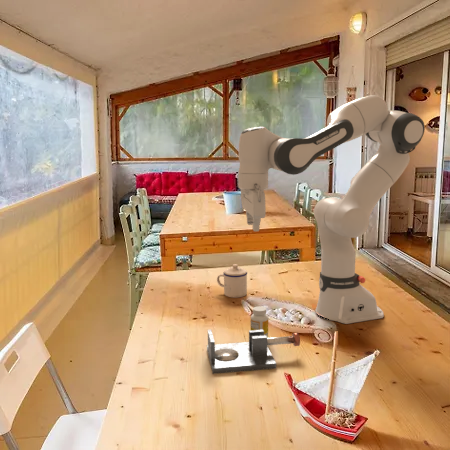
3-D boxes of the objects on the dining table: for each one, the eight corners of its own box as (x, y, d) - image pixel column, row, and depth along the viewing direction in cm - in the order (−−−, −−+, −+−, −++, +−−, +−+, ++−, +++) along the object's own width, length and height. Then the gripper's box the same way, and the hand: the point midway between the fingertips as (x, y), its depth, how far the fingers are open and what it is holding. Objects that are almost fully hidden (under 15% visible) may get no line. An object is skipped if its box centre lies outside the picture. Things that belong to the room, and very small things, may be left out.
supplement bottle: (251, 342, 147) (251, 312, 145) (249, 335, 152) (249, 305, 150) (269, 341, 147) (269, 311, 145) (266, 334, 152) (266, 304, 150)
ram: (296, 342, 140) (296, 330, 139) (299, 348, 137) (300, 335, 136) (251, 345, 138) (251, 333, 138) (253, 351, 135) (253, 339, 134)
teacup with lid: (250, 291, 191) (250, 262, 189) (242, 299, 183) (242, 269, 180) (221, 288, 195) (221, 259, 193) (212, 295, 187) (212, 266, 184)
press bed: (264, 345, 145) (264, 321, 143) (276, 368, 131) (276, 342, 130) (207, 349, 142) (206, 325, 141) (212, 373, 129) (212, 347, 127)
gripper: (271, 186, 137) (270, 234, 140) (257, 178, 157) (256, 221, 160) (249, 186, 136) (248, 235, 139) (237, 178, 156) (237, 221, 159)
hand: (252, 227), depth 150 cm, fingers open, 8 cm apart
